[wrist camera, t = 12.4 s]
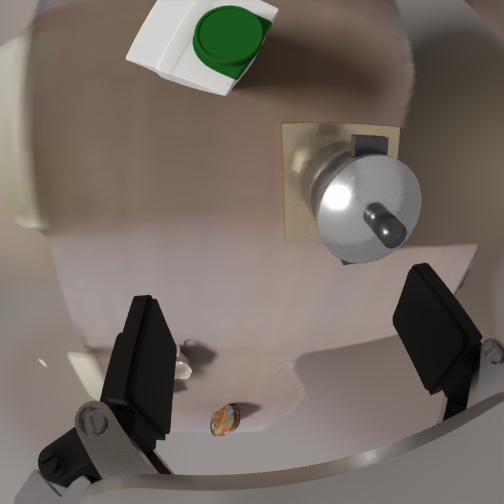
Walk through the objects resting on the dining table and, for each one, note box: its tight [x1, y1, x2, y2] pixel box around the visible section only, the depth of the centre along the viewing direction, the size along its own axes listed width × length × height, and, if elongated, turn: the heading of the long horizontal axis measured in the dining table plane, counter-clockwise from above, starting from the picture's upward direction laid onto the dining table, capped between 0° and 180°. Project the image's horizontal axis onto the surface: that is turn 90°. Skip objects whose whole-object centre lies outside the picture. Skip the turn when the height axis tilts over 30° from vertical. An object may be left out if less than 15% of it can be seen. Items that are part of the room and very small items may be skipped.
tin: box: [210, 405, 240, 436], centre depth 74 cm, size 15×3×8 cm, turn 146°
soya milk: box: [126, 0, 279, 96], centre depth 20 cm, size 9×9×20 cm
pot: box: [281, 122, 400, 265], centre depth 35 cm, size 18×18×10 cm
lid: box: [315, 153, 421, 263], centre depth 28 cm, size 14×14×6 cm
